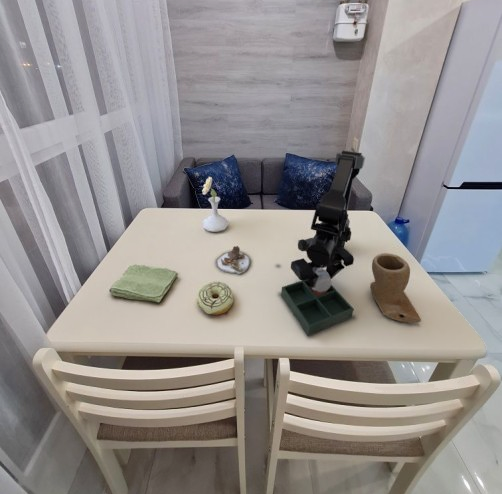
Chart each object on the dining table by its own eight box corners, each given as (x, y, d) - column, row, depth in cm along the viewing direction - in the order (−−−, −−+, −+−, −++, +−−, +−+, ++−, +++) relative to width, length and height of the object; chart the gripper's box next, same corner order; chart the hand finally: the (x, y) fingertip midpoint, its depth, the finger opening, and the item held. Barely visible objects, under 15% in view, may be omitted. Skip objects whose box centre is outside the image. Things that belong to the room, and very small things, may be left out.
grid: (320, 281, 87) (321, 274, 86) (351, 317, 75) (354, 309, 73) (281, 295, 82) (281, 286, 80) (308, 335, 69) (309, 327, 68)
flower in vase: (207, 219, 122) (203, 168, 111) (231, 221, 120) (229, 170, 110) (198, 235, 110) (193, 180, 99) (224, 237, 109) (222, 182, 98)
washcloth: (161, 306, 78) (159, 298, 76) (107, 297, 80) (105, 289, 79) (180, 274, 89) (179, 267, 88) (132, 267, 92) (130, 260, 91)
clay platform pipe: (359, 283, 87) (368, 246, 80) (396, 285, 86) (409, 248, 80) (376, 323, 73) (388, 283, 67) (420, 326, 72) (437, 286, 66)
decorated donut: (207, 323, 72) (206, 314, 71) (192, 298, 80) (191, 288, 79) (239, 306, 78) (239, 297, 76) (222, 283, 86) (221, 274, 84)
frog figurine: (222, 249, 102) (222, 241, 100) (252, 254, 99) (252, 246, 98) (212, 270, 91) (212, 261, 90) (246, 275, 89) (246, 266, 88)
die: (330, 290, 80) (332, 278, 78) (315, 294, 79) (317, 281, 76) (321, 278, 84) (323, 266, 82) (307, 282, 83) (309, 269, 81)
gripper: (334, 221, 84) (327, 260, 91) (283, 234, 77) (279, 274, 84) (359, 241, 75) (350, 282, 82) (304, 257, 68) (298, 300, 75)
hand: (319, 283), depth 81 cm, fingers closed on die, 5 cm apart
